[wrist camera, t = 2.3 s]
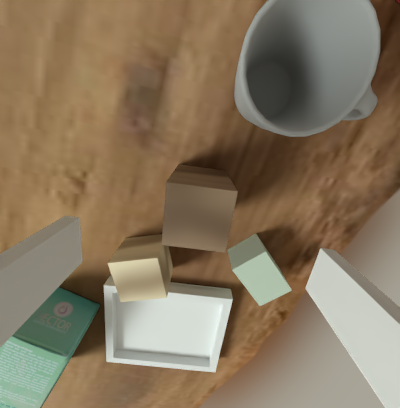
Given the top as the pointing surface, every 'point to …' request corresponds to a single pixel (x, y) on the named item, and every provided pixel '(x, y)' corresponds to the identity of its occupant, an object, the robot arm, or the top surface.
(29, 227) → the top surface
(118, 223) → the top surface
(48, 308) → the box
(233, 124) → the top surface
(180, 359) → the tray
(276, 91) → the cup
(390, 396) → the robot arm
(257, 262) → the sage block
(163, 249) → the oak block
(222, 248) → the walnut block
